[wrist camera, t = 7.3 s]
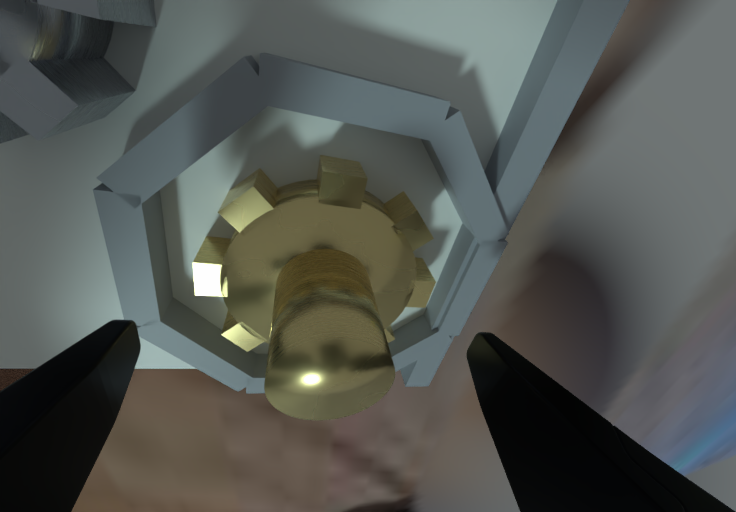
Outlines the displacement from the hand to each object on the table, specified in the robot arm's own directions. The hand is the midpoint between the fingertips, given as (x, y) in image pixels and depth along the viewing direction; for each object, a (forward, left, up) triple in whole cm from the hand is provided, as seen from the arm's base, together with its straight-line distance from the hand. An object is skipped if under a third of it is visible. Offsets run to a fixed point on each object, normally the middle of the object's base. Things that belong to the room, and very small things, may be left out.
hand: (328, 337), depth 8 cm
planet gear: (0, 0, -4) cm, 4 cm away
